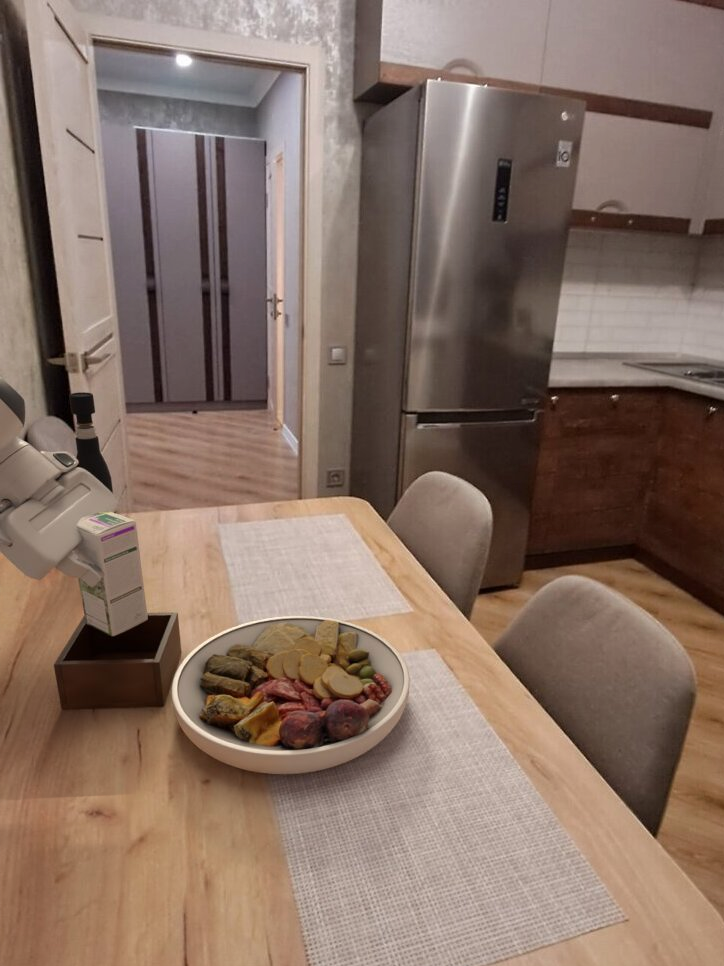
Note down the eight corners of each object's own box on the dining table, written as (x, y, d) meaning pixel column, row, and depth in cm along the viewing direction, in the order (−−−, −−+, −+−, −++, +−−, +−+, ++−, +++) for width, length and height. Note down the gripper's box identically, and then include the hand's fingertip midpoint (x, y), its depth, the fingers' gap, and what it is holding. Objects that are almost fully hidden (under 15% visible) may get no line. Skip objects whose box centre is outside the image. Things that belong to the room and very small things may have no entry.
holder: (61, 709, 85) (53, 664, 82) (91, 654, 96) (85, 613, 94) (164, 706, 86) (159, 662, 84) (181, 652, 98) (177, 612, 95)
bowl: (138, 690, 89) (132, 639, 86) (324, 624, 107) (325, 580, 104) (245, 833, 68) (242, 773, 65) (454, 721, 87) (460, 670, 83)
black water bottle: (89, 559, 125) (66, 399, 113) (79, 547, 129) (56, 392, 117) (124, 551, 128) (105, 396, 117) (113, 540, 133) (94, 389, 121)
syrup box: (149, 619, 88) (138, 518, 83) (111, 638, 84) (96, 532, 78) (122, 607, 91) (109, 507, 86) (82, 624, 87) (66, 521, 81)
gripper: (-11, 500, 70) (95, 587, 74) (75, 448, 89) (156, 519, 93) (-45, 538, 71) (60, 621, 75) (46, 478, 90) (127, 547, 94)
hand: (113, 564), depth 84 cm, fingers closed on syrup box, 7 cm apart
